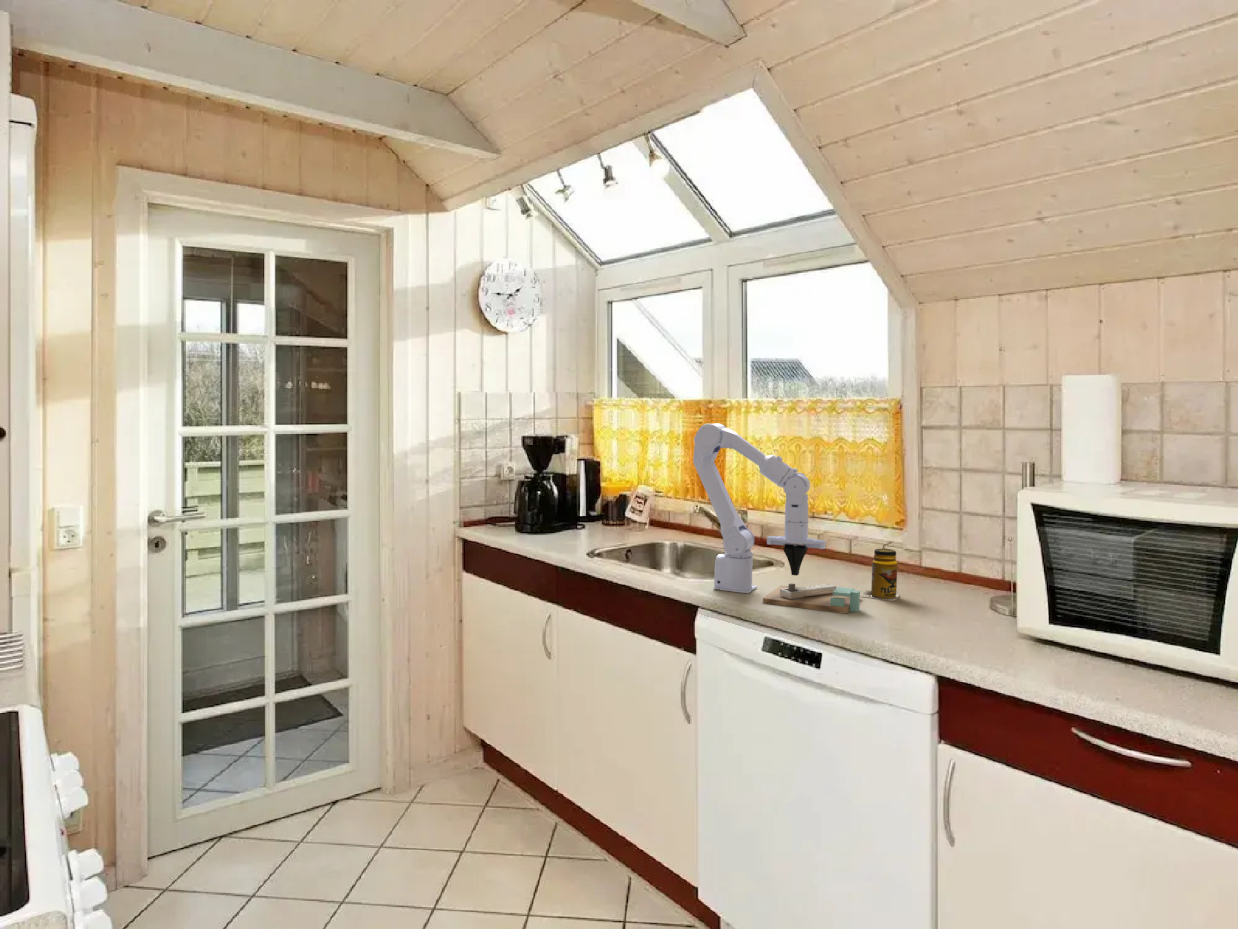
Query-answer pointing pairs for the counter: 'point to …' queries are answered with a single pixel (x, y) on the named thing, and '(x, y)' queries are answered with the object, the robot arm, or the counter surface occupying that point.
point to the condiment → (883, 575)
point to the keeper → (846, 592)
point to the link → (807, 591)
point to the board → (807, 600)
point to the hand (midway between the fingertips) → (795, 574)
